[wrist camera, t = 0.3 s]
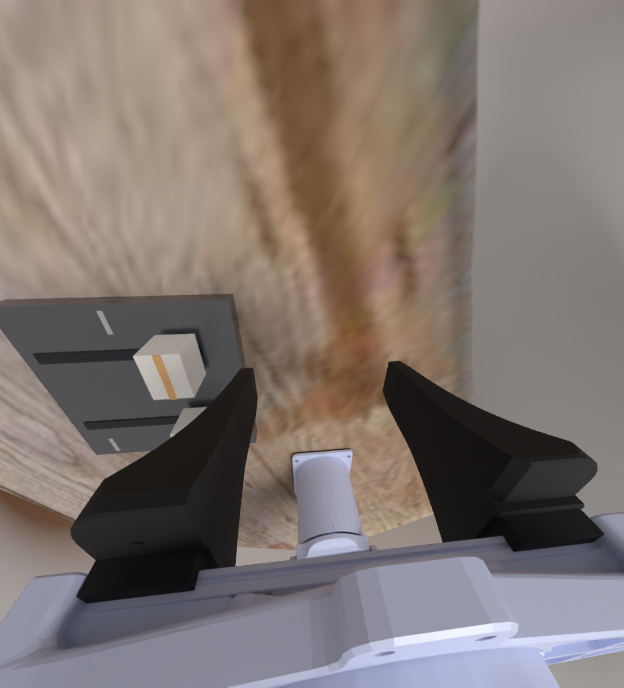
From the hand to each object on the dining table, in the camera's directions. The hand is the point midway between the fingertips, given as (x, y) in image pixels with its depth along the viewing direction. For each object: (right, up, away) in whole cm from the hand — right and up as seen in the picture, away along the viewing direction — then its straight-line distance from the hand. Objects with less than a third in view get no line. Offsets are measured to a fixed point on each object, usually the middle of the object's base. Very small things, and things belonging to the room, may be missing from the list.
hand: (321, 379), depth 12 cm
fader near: (-11, +1, +7) cm, 13 cm away
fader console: (-16, -2, +10) cm, 19 cm away
